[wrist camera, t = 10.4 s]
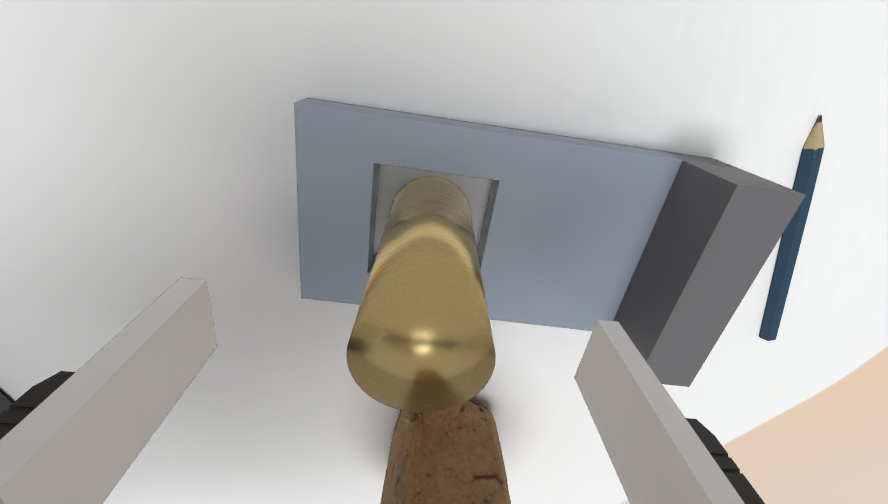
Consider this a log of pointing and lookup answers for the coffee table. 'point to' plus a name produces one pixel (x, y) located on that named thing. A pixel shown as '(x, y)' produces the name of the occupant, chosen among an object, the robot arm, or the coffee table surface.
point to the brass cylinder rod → (424, 306)
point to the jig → (551, 225)
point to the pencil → (793, 232)
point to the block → (446, 459)
